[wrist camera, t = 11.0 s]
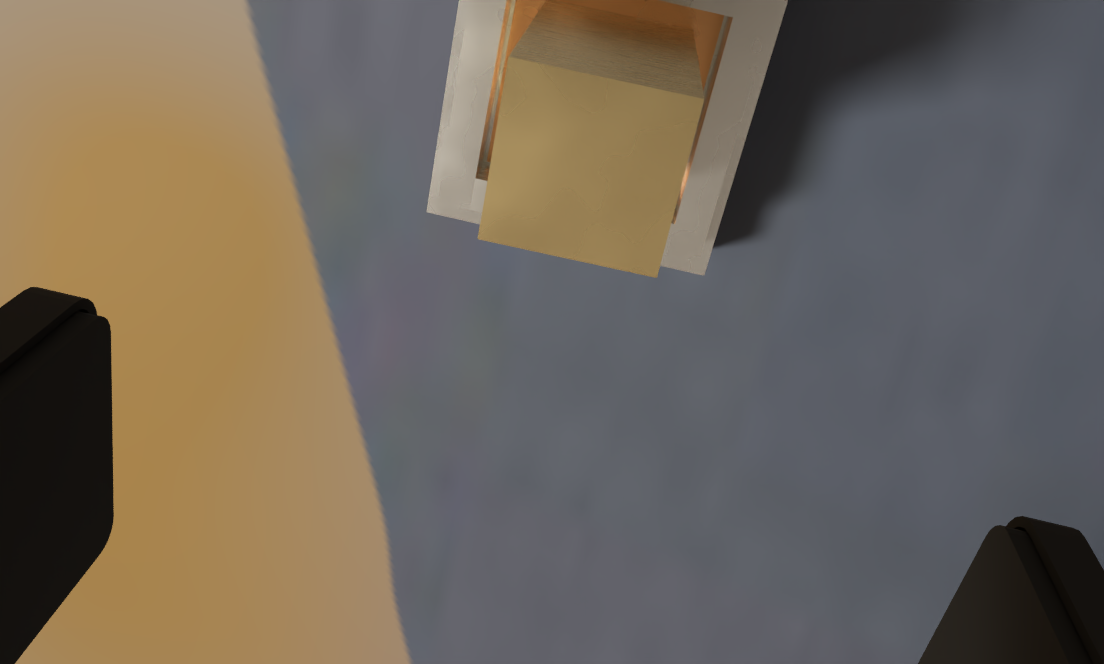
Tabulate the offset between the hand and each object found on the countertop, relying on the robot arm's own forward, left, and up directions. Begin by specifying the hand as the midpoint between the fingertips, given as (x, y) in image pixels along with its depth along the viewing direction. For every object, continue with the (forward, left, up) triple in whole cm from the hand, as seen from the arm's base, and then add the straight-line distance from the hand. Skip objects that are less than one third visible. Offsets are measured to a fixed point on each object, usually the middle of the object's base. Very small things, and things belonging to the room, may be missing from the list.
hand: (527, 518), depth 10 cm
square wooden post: (0, 0, -21) cm, 21 cm away
